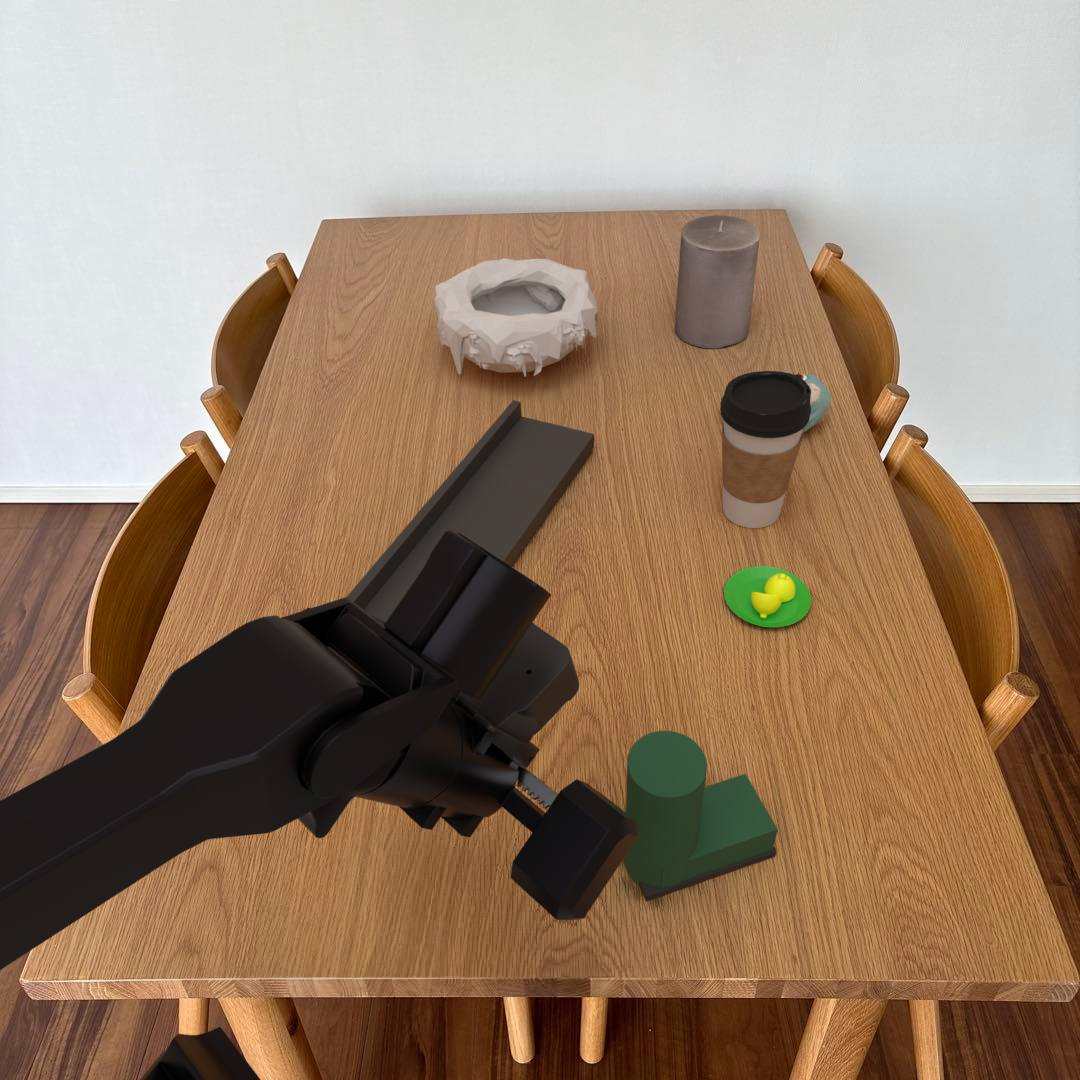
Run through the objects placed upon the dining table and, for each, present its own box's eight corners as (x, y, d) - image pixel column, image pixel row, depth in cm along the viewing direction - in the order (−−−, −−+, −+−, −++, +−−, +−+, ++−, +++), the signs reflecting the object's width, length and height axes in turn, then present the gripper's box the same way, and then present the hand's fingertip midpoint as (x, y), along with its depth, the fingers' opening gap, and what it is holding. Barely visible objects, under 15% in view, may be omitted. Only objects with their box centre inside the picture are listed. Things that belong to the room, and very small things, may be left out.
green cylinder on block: (641, 903, 69) (646, 808, 60) (613, 839, 73) (614, 741, 64) (775, 856, 71) (799, 758, 63) (741, 796, 75) (759, 696, 66)
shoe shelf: (386, 750, 79) (377, 717, 76) (288, 711, 83) (276, 678, 80) (594, 451, 108) (594, 419, 105) (515, 431, 112) (513, 399, 109)
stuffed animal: (717, 355, 112) (823, 340, 109) (723, 406, 116) (826, 392, 114) (720, 408, 104) (835, 393, 101) (727, 460, 108) (837, 447, 106)
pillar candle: (686, 307, 131) (693, 200, 121) (756, 318, 128) (770, 210, 118) (665, 342, 125) (670, 232, 114) (738, 355, 122) (751, 244, 111)
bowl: (477, 306, 134) (471, 238, 127) (618, 327, 128) (619, 257, 121) (412, 386, 120) (401, 314, 113) (567, 413, 114) (565, 340, 107)
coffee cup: (794, 540, 96) (816, 417, 86) (708, 533, 97) (721, 412, 87) (791, 487, 102) (812, 366, 92) (711, 481, 103) (723, 362, 93)
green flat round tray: (805, 639, 86) (809, 618, 84) (716, 622, 88) (719, 601, 86) (814, 579, 92) (819, 557, 90) (731, 564, 94) (733, 543, 92)
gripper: (648, 716, 43) (731, 768, 56) (388, 533, 53) (510, 614, 66) (508, 925, 43) (625, 929, 56) (271, 699, 53) (417, 748, 66)
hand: (540, 790), depth 61 cm, fingers open, 9 cm apart
